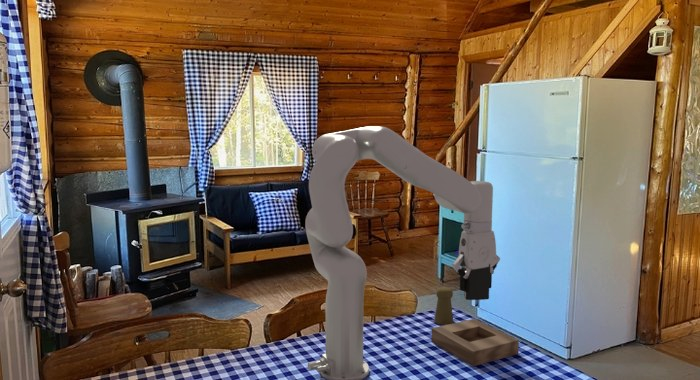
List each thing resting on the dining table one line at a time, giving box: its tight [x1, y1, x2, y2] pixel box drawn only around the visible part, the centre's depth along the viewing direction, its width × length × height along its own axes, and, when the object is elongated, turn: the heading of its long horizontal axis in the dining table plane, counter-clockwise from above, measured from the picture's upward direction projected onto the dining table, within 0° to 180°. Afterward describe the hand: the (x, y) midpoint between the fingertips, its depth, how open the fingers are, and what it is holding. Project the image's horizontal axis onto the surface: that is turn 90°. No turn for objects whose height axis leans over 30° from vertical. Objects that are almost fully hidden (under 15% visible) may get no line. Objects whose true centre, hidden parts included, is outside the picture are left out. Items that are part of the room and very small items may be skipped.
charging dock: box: [431, 318, 520, 367], centre depth 152 cm, size 16×18×4 cm
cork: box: [433, 286, 454, 326], centre depth 171 cm, size 6×6×11 cm
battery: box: [463, 264, 490, 301], centre depth 149 cm, size 7×4×11 cm, turn 94°
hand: (475, 288), depth 150 cm, fingers closed on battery, 7 cm apart
